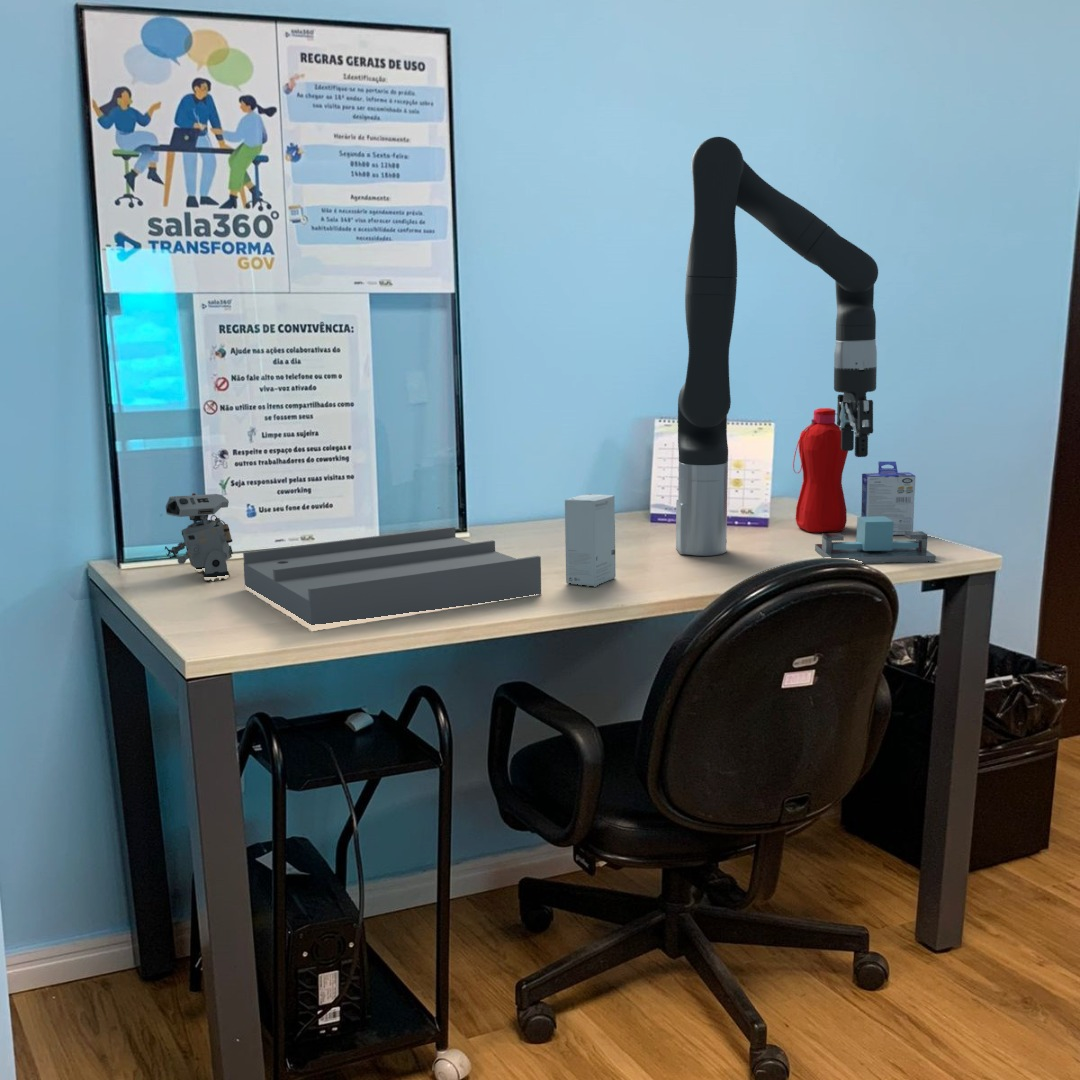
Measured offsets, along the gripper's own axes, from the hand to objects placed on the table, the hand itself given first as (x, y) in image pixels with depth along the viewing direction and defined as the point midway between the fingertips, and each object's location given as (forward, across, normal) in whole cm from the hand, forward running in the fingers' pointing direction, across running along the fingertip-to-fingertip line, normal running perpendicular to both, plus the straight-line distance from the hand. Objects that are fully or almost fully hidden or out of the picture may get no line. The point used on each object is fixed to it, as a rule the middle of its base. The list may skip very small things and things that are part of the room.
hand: (854, 453), depth 227 cm
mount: (+19, +2, +3) cm, 20 cm away
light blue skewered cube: (+18, +2, +3) cm, 18 cm away
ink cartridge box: (+20, -19, +13) cm, 30 cm away
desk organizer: (+18, +21, -85) cm, 89 cm away
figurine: (+16, +6, -120) cm, 121 cm away
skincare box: (+18, +16, -51) cm, 56 cm away
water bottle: (+19, -24, 0) cm, 31 cm away
